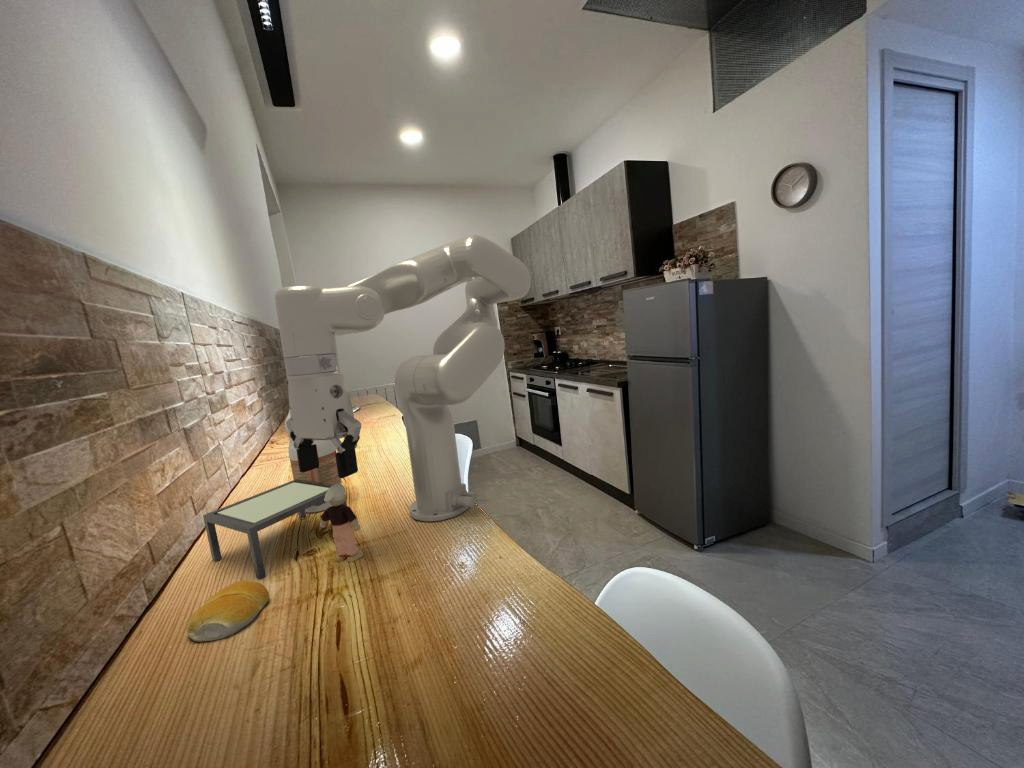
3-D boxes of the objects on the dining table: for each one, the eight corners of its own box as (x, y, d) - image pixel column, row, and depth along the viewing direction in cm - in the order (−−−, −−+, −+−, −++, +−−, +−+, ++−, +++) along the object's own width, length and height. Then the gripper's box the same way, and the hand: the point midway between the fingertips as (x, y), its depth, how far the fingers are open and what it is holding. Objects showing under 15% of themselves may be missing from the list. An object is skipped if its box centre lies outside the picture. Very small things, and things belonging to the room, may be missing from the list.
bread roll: (278, 591, 58) (273, 566, 57) (245, 637, 49) (238, 608, 48) (219, 601, 57) (214, 576, 56) (174, 649, 48) (167, 620, 47)
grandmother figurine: (373, 549, 66) (362, 479, 65) (362, 562, 63) (350, 488, 61) (331, 551, 67) (319, 481, 66) (318, 564, 64) (305, 491, 62)
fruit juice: (293, 517, 83) (269, 389, 80) (306, 500, 92) (285, 384, 89) (339, 508, 85) (318, 383, 82) (347, 492, 94) (329, 379, 91)
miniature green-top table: (350, 527, 76) (343, 486, 75) (259, 579, 61) (249, 528, 60) (303, 516, 83) (296, 478, 82) (212, 560, 68) (202, 515, 67)
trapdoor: (334, 503, 74) (331, 488, 74) (257, 540, 62) (254, 522, 62) (296, 496, 80) (294, 482, 80) (220, 528, 68) (216, 512, 68)
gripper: (370, 362, 60) (384, 469, 62) (302, 367, 68) (316, 461, 70) (326, 367, 53) (343, 486, 55) (257, 372, 62) (274, 475, 64)
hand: (328, 472), depth 63 cm, fingers open, 9 cm apart
